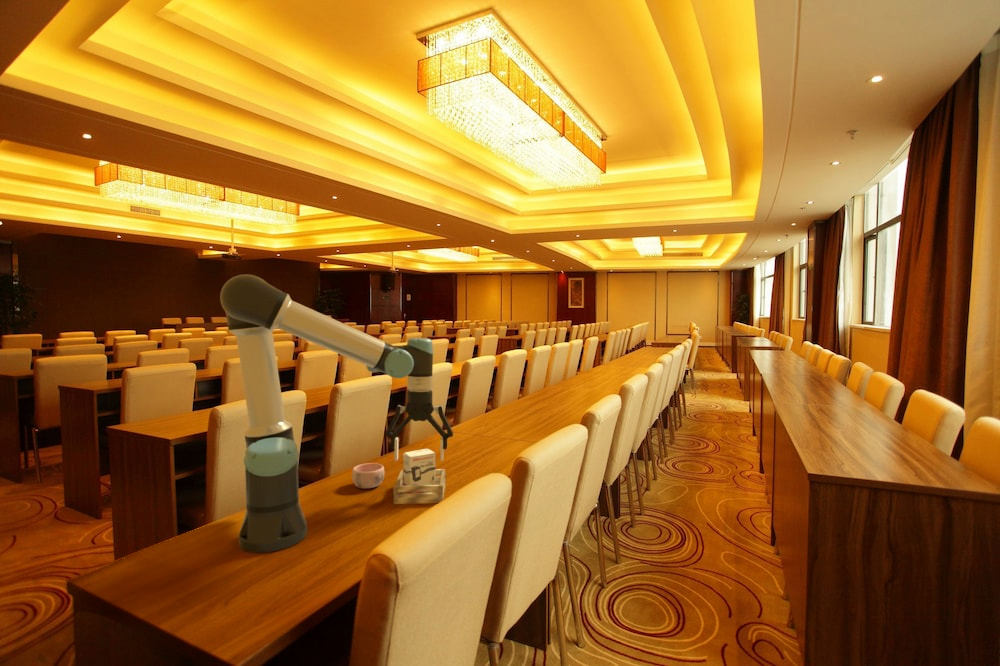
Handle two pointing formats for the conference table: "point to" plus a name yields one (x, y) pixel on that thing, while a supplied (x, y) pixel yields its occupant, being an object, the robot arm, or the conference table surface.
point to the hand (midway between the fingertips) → (419, 459)
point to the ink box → (419, 468)
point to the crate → (420, 490)
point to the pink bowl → (368, 475)
